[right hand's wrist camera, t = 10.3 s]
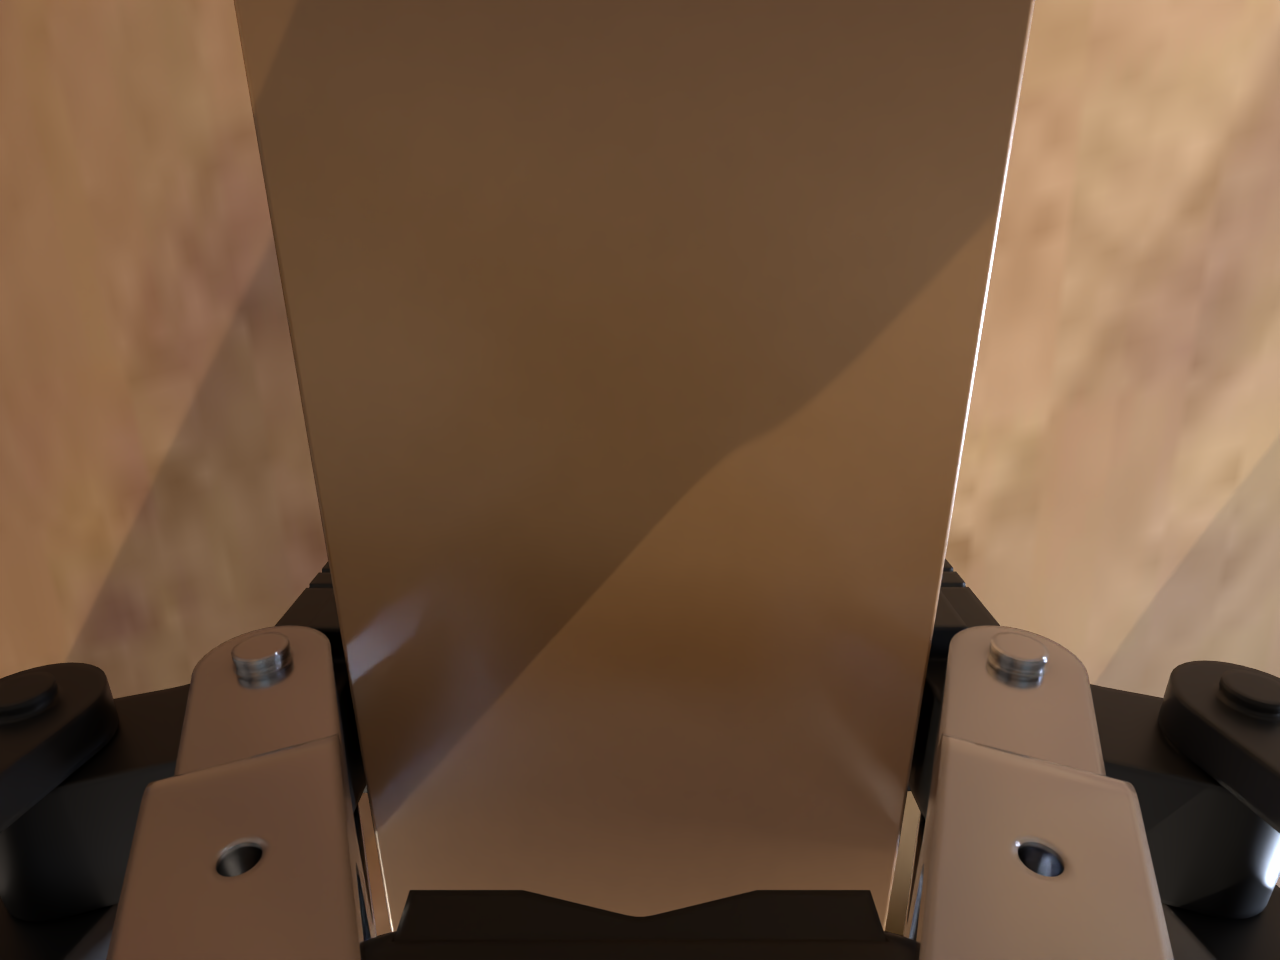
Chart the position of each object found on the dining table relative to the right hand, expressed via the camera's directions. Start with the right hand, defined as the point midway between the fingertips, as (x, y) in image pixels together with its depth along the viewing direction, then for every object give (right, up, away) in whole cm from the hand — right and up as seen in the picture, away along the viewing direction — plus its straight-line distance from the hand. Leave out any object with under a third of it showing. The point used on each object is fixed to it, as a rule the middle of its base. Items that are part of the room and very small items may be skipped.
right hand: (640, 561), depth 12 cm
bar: (0, +9, +1) cm, 9 cm away
